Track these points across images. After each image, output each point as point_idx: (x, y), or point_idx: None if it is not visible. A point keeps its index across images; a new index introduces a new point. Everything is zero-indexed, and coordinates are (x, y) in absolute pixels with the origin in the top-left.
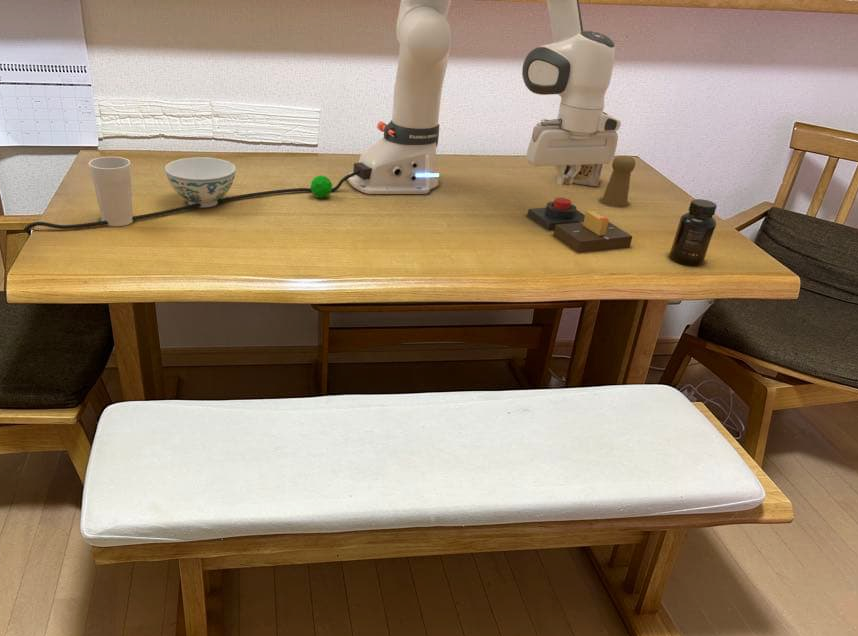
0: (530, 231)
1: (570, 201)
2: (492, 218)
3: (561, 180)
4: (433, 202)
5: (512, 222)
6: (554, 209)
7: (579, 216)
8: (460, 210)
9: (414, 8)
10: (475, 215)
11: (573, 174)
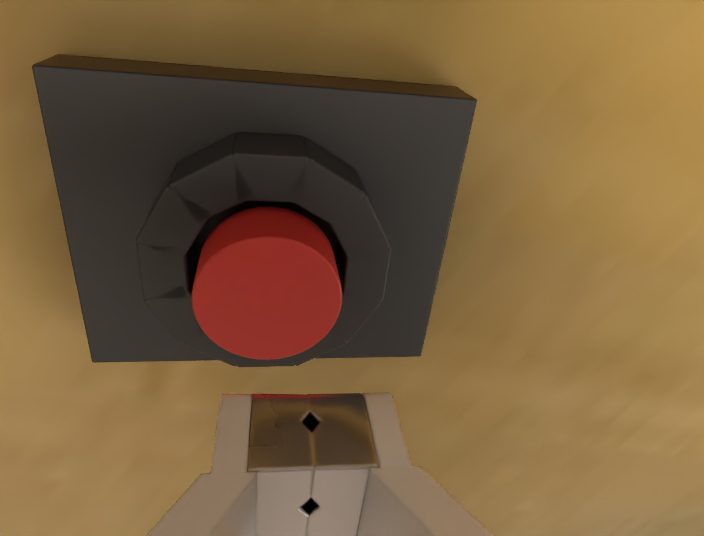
0: (574, 116)
1: (208, 268)
2: (605, 335)
3: (400, 436)
4: (669, 502)
5: (557, 269)
6: (377, 228)
7: (127, 161)
8: (651, 431)
9: None
10: (644, 378)
11: (223, 511)
